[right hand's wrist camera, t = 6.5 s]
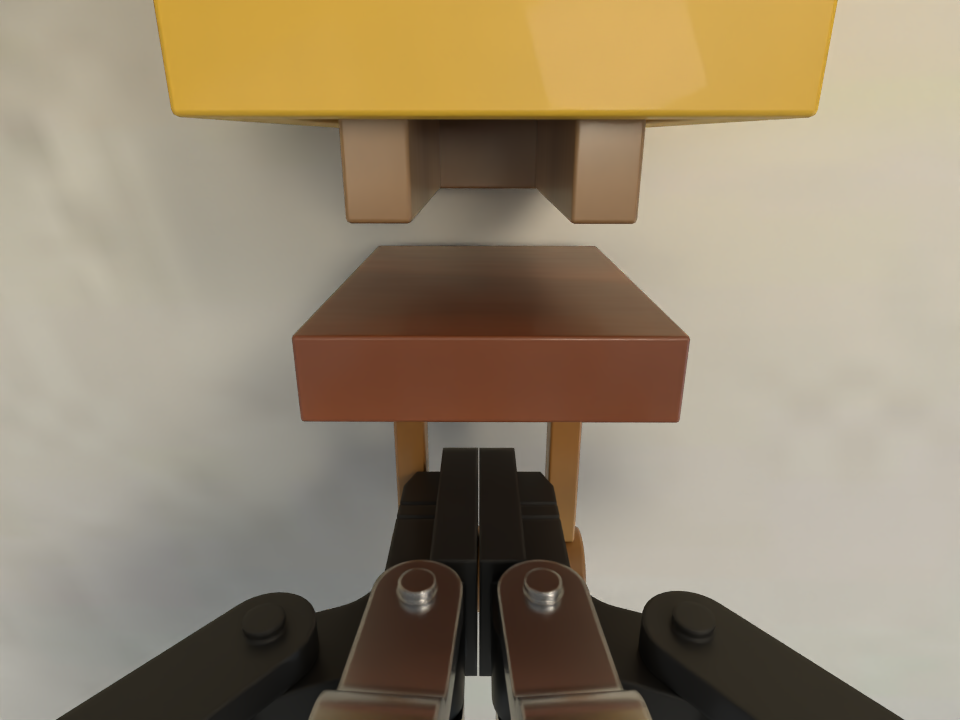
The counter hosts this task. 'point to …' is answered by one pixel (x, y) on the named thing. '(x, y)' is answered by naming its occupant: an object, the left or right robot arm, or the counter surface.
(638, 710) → the right robot arm
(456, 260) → the drawer
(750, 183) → the counter surface
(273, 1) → the cabinet
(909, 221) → the counter surface
